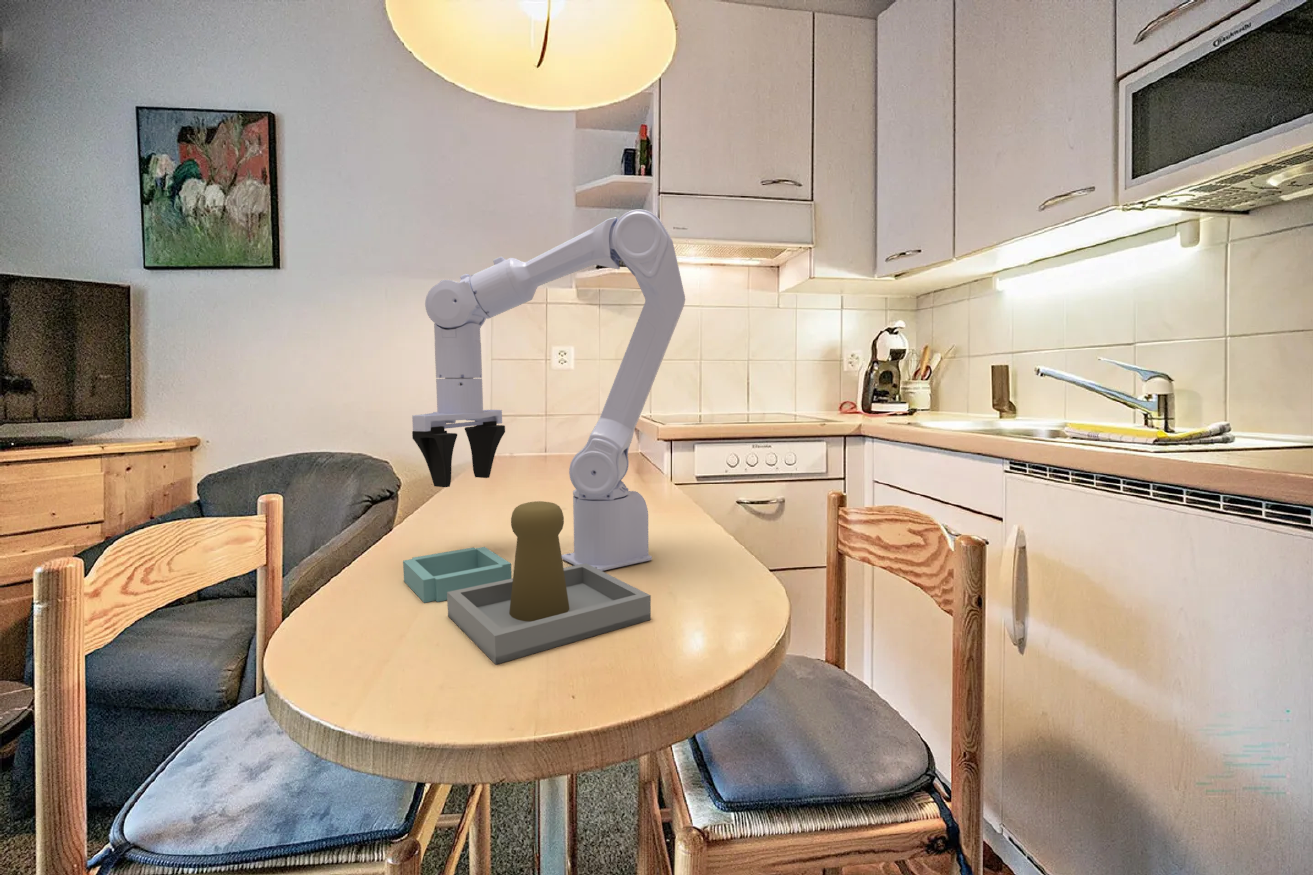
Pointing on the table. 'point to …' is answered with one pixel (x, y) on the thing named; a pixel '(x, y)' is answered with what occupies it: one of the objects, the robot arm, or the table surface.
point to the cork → (538, 562)
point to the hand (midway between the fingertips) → (462, 481)
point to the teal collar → (453, 572)
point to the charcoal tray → (591, 613)
